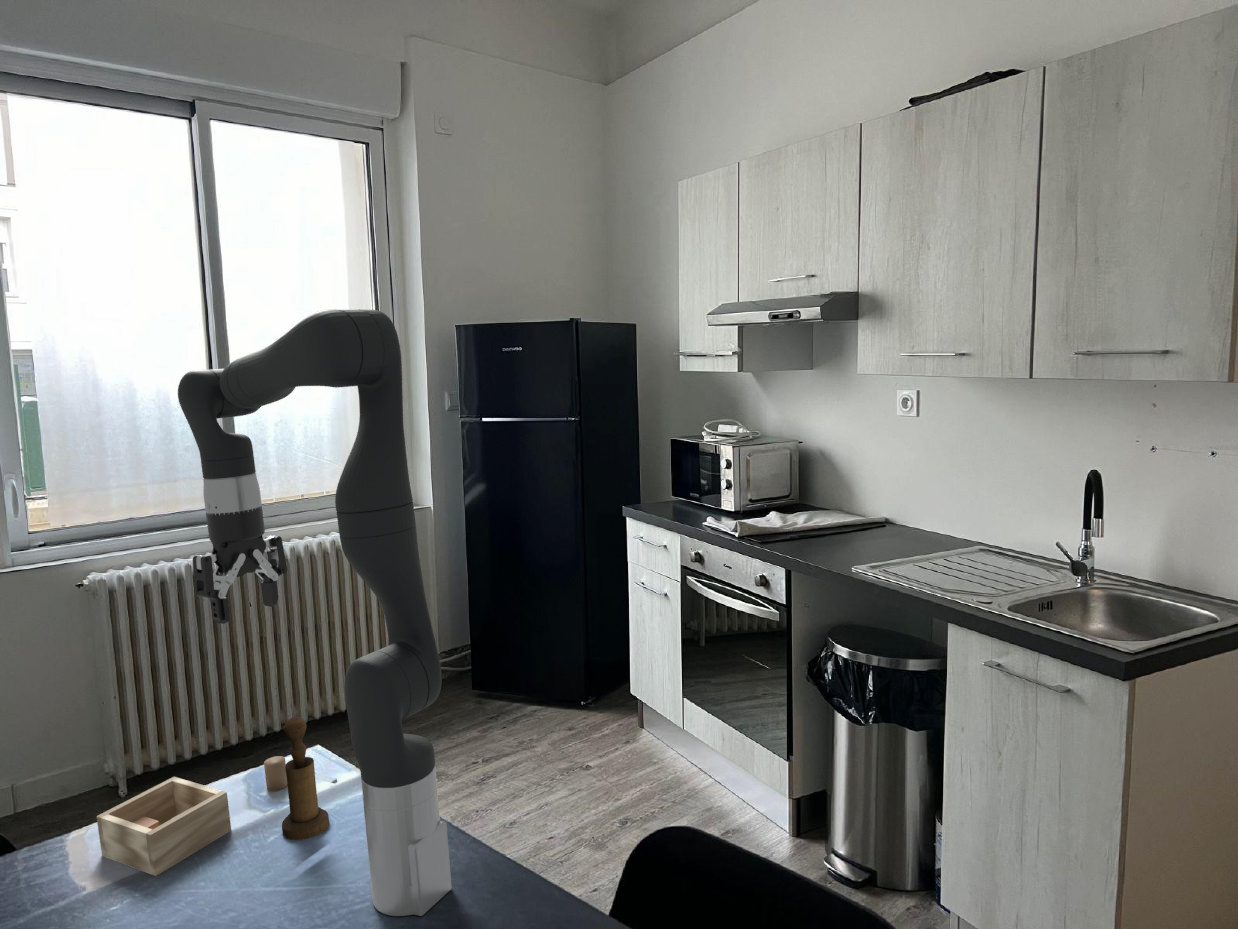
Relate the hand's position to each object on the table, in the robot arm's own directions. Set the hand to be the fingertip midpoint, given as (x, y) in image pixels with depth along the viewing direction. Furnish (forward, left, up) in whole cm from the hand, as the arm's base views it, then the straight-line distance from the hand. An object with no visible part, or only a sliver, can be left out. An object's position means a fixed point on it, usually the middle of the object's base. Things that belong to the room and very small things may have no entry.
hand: (247, 614), depth 126 cm
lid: (+6, -6, -33) cm, 34 cm away
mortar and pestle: (-8, +1, -33) cm, 34 cm away
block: (+10, +14, -32) cm, 36 cm away
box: (+8, +12, -33) cm, 36 cm away
